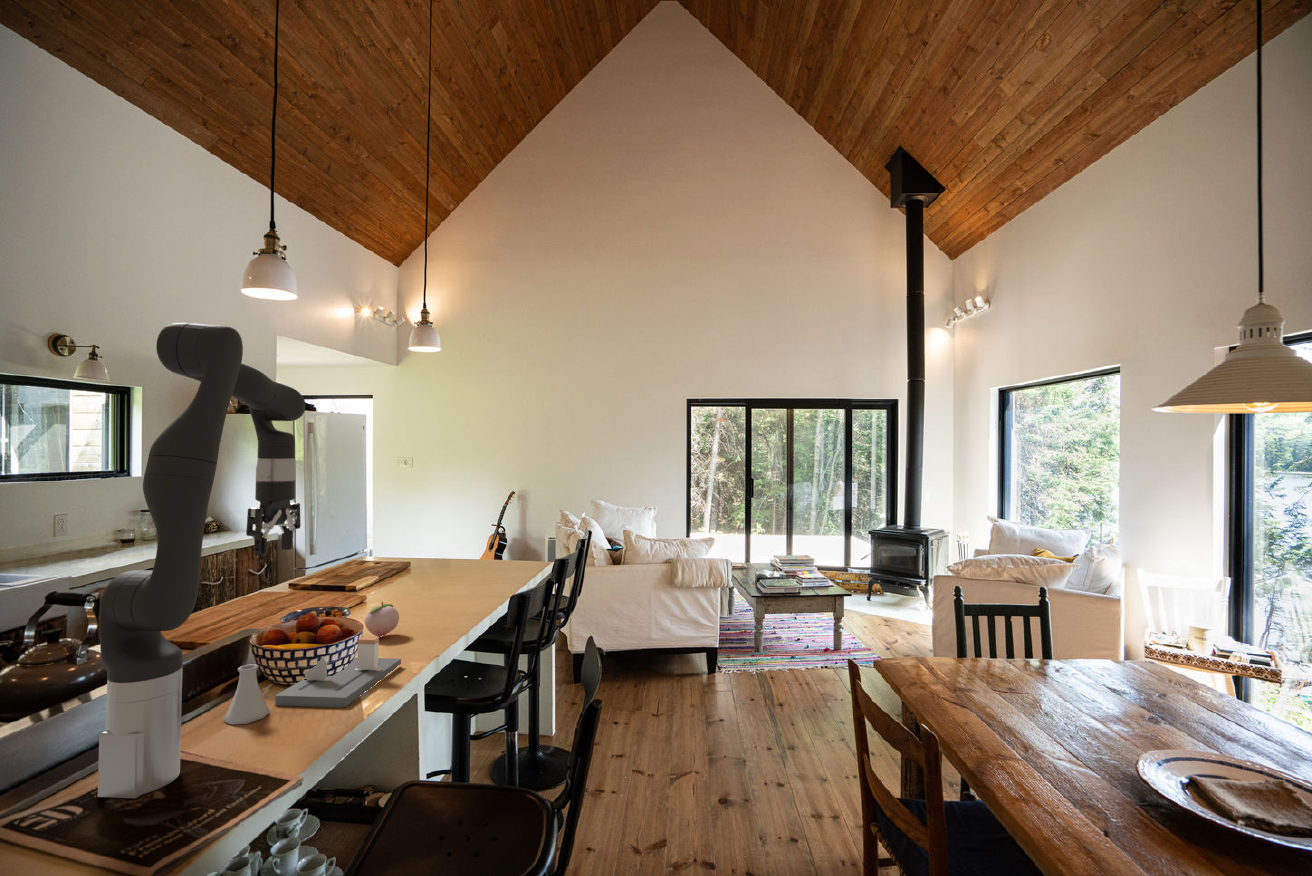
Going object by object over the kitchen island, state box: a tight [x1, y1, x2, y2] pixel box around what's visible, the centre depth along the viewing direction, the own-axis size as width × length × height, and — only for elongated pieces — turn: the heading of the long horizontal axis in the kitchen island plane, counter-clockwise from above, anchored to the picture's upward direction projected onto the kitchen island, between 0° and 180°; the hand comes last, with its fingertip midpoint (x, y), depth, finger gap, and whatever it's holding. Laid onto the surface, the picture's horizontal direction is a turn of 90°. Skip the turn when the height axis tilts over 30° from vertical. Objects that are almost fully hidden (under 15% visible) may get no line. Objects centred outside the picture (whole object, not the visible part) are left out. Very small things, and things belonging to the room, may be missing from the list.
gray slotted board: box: [274, 657, 402, 708], centre depth 139 cm, size 24×15×2 cm, turn 176°
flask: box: [223, 663, 271, 725], centre depth 121 cm, size 7×7×10 cm
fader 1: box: [304, 656, 328, 680], centre depth 136 cm, size 2×4×7 cm, turn 87°
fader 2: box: [356, 636, 380, 670], centre depth 142 cm, size 2×4×7 cm, turn 86°
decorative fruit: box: [364, 601, 400, 637], centre depth 174 cm, size 9×8×10 cm
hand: (274, 552), depth 136 cm, fingers open, 8 cm apart
